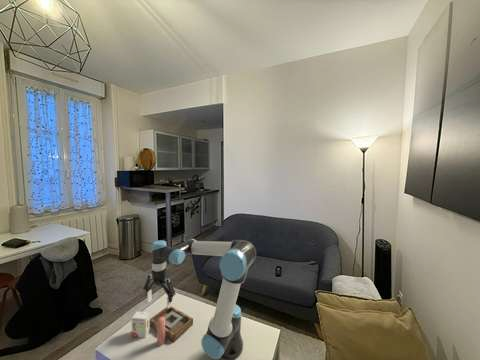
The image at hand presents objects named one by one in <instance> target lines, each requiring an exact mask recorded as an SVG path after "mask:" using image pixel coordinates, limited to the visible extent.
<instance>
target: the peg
mask: <svg viewBox="0 0 480 360" xmlns="http://www.w3.org/2000/svg"><path fill="white" fill-rule="evenodd" d="M156 331H157V332H156V333H157V336H156V337H157V338H156V339H157V343H156V345H157V346H158V347H161V346H163V345H164V344H165V343H166V337H165V317H160V318H158V325H157V330H156Z"/></svg>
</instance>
